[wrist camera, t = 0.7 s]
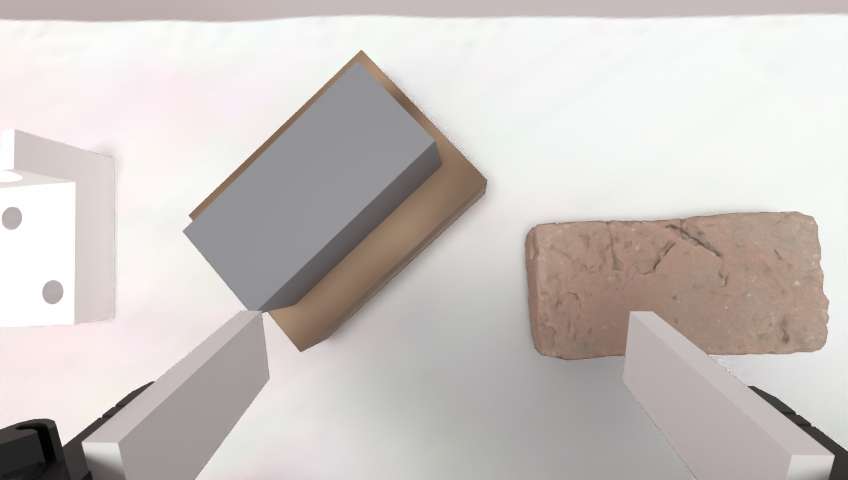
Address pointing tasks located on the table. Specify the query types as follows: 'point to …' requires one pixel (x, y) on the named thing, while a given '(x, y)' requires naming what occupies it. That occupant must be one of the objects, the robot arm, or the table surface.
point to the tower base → (386, 243)
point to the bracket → (55, 232)
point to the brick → (678, 283)
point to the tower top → (315, 193)
